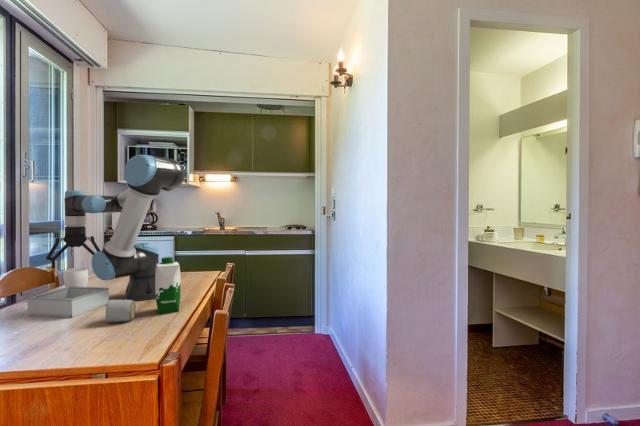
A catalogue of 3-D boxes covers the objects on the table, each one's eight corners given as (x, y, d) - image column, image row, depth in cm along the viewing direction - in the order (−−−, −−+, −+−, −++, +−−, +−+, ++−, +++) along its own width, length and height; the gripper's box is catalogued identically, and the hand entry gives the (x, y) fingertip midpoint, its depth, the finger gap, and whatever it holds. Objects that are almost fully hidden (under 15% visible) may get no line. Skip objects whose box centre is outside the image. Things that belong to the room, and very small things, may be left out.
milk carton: (179, 305, 141) (178, 256, 140) (181, 312, 133) (181, 259, 132) (155, 308, 137) (154, 257, 136) (156, 315, 129) (155, 261, 128)
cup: (71, 294, 158) (71, 268, 158) (92, 294, 159) (92, 267, 159) (58, 299, 149) (58, 271, 149) (81, 299, 150) (80, 271, 150)
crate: (108, 303, 143) (108, 287, 143) (72, 317, 125) (71, 299, 125) (69, 302, 146) (69, 286, 146) (27, 315, 128) (27, 297, 128)
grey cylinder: (132, 323, 120) (132, 300, 120) (105, 325, 118) (105, 302, 117) (137, 314, 130) (137, 294, 130) (113, 316, 128) (112, 295, 128)
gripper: (107, 224, 164) (107, 269, 165) (39, 226, 149) (39, 275, 149) (109, 225, 158) (109, 272, 159) (38, 227, 143) (38, 278, 143)
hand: (75, 274), depth 154 cm, fingers open, 13 cm apart
